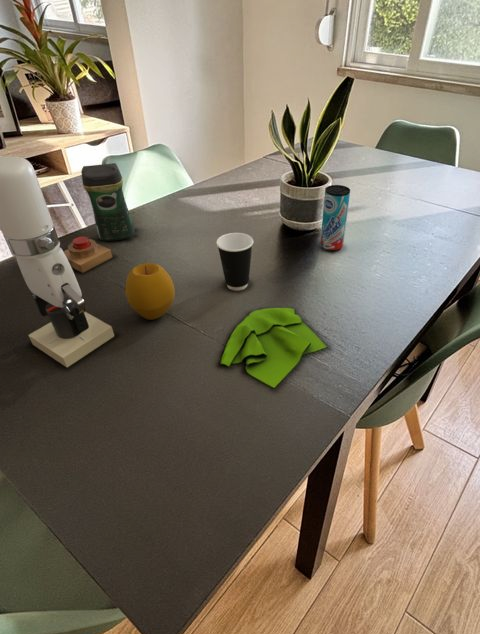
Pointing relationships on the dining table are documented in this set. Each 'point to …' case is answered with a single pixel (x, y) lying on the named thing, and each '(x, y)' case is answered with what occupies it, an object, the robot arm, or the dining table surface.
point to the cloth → (270, 344)
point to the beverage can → (334, 217)
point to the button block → (87, 256)
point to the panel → (72, 341)
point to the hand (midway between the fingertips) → (65, 321)
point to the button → (81, 243)
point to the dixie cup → (235, 259)
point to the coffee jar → (108, 201)
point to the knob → (60, 320)
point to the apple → (149, 290)
